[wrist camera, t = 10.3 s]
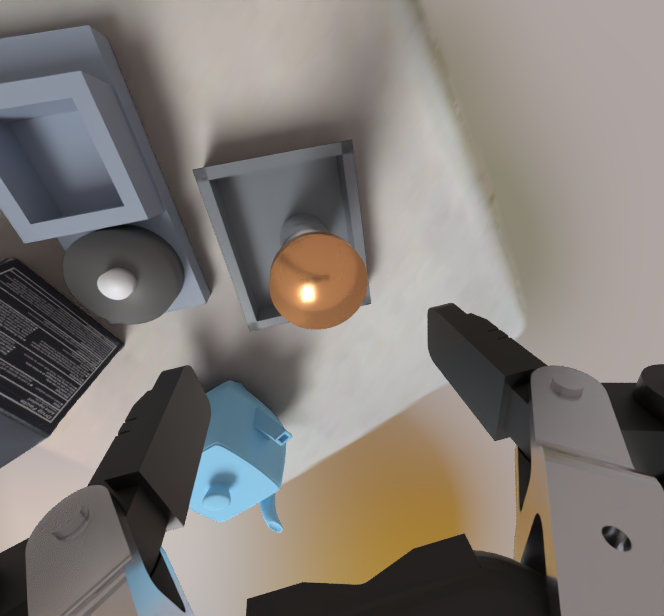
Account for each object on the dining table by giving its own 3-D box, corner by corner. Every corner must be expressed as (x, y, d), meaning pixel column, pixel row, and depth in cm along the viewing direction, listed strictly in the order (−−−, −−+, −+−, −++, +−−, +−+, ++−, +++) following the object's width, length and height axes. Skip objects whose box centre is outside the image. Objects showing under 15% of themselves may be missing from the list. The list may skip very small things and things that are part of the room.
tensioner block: (-28, 59, 18) (-141, 21, 13) (107, 38, 18) (46, -6, 13) (121, 313, 26) (86, 347, 21) (210, 294, 27) (196, 323, 22)
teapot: (126, 395, 30) (62, 493, 21) (234, 323, 28) (214, 397, 19) (242, 474, 38) (231, 569, 29) (331, 422, 37) (348, 506, 28)
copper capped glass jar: (265, 212, 24) (256, 249, 14) (327, 199, 24) (362, 226, 14) (281, 271, 26) (282, 338, 16) (337, 259, 26) (372, 317, 17)
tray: (203, 168, 22) (192, 169, 19) (343, 142, 23) (351, 139, 20) (252, 315, 28) (250, 331, 26) (362, 290, 29) (371, 303, 26)
